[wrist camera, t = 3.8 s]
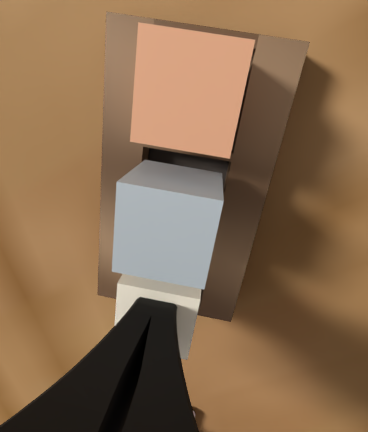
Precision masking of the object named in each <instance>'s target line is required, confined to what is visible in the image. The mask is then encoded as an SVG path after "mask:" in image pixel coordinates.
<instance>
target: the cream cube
mask: <svg viewBox="0 0 368 432" xmlns="http://www.w3.org/2000/svg"><path fill="white" fill-rule="evenodd" d="M139 297H144V298H149V299H154V300H159V301H164V302H169V303H174V304H175V305H176V306H177V336H178V344H179V350H180V357H181V359H186V360H187V359H188V355H189V350H190V345H191V341H192V336H193V332H194V327H195V322H196V318H197V313H198V308H199V304H200V298H201V289H198V288H193V287H188V286H183V285H178V284H173V283H168V282H162V281H157V280H152V279H147V278H142V277H137V276H132V275H127V274H122V276H121V278H120V279H119V281H118V283H117V296H116V312H115V325H116V324H117V323H118V322H119V321H120V319H121V318H122V317H123V316H124V315H125V313H126V312H127V311H128V310H129V309H130V307H131V306H132V305H133V303H134V302H135V301H136V299H137V298H139Z"/></svg>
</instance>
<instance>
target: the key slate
mask: <svg viewBox="0 0 368 432" xmlns="http://www.w3.org/2000/svg"><path fill="white" fill-rule="evenodd" d="M223 202H224V196H223V179H222V173H219V172H213V171H207V170H201V169H196V168H190V167H184V166H178V165H173V164H167V163H161V162H155V161H150V160H144V161H143V162H141V163H140V164H139V165H137V166H136V167H135V168H134V169H132V170H131V171H130V172H128V173H127V174H126V175H125V176H123V177H122V178H121V179H119V180H118V181H117V183H116V202H115V220H114V239H113V257H112V272H116V273H121V274H127V275H132V276H137V277H142V278H147V279H152V280H157V281H162V282H168V283H173V284H178V285H183V286H188V287H193V288H198V289H203V290H204V289H205V284H206V280H207V275H208V271H209V266H210V262H211V257H212V252H213V248H214V243H215V239H216V234H217V230H218V225H219V220H220V216H221V211H222V207H223Z"/></svg>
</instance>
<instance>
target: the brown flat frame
mask: <svg viewBox="0 0 368 432" xmlns="http://www.w3.org/2000/svg"><path fill="white" fill-rule="evenodd" d="M138 22H140V23H146V24H153V25H160V26H166V27H173V28H180V29H186V30H193V31H200V32H206V33H213V34H220V35H226V36H233V37H240V38H246V39H253V40H255V44H254V48H253V53H252V58H251V62H250V67H249V72H248V76H247V81H246V86H245V90H244V95H243V100H242V104H241V109H240V114H239V118H238V123H237V128H236V132H235V137H234V142H233V146H232V151H231V156H230V159H228V158H223V157H217V156H211V155H205V154H199V153H193V152H188V151H182V150H176V149H170V148H164V147H158V146H153V145H147V144H141V143H135V142H130V134H131V119H132V105H133V90H134V76H135V62H136V47H137V33H138ZM309 43H310V42H307V41H300V40H293V39H287V38H280V37H273V36H267V35H260V34H253V33H246V32H240V31H233V30H226V29H220V28H213V27H206V26H199V25H193V24H186V23H179V22H173V21H166V20H159V19H153V18H146V17H139V16H132V15H126V14H119V13H112V12H106V40H105V72H104V104H103V137H102V169H101V201H100V234H99V266H98V295H100V296H105V297H110V298H115V299H116V296H117V283H118V281H119V279H120V278H121V276H122V274H121V273H116V272H112V257H113V239H114V220H115V202H116V183H117V181H118V180H119V179H121V178H122V177H123V176H125V175H126V174H127V173H128V172H130V171H131V170H132V169H134V168H135V167H136V166H137V165H139V164H140V163H141V162H143V161H144V160H150V161H155V162H161V163H167V164H173V165H178V166H184V167H190V168H196V169H201V170H207V171H213V172H219V173H222V179H223V196H224V202H223V207H222V211H221V216H220V220H219V225H218V230H217V234H216V239H215V243H214V248H213V252H212V257H211V262H210V266H209V271H208V275H207V280H206V284H205V289H204V290H203V289H201V298H200V304H199V308H198V313H197V315H200V316H205V317H210V318H215V319H220V320H225V321H230V322H231V320H232V316H233V313H234V309H235V305H236V302H237V298H238V295H239V291H240V288H241V284H242V281H243V277H244V274H245V270H246V266H247V263H248V259H249V256H250V252H251V249H252V245H253V242H254V238H255V235H256V231H257V227H258V224H259V220H260V217H261V213H262V210H263V206H264V203H265V199H266V196H267V192H268V188H269V185H270V181H271V178H272V174H273V171H274V167H275V164H276V160H277V157H278V153H279V149H280V146H281V142H282V139H283V135H284V132H285V128H286V125H287V121H288V118H289V114H290V110H291V107H292V103H293V100H294V96H295V93H296V89H297V86H298V82H299V79H300V75H301V71H302V68H303V64H304V61H305V57H306V54H307V50H308V47H309Z"/></svg>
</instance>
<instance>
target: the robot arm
mask: <svg viewBox="0 0 368 432" xmlns="http://www.w3.org/2000/svg"><path fill="white" fill-rule="evenodd" d="M0 432H199V430H198V427H197V424H196V420H195V412H194V411H193V410H192V406H191V403H190V399H189V395H188V391H187V386H186V382H185V378H184V373H183V368H182V363H181V357H180V350H179V344H178V336H177V306H176V305H175V304H174V303H169V302H164V301H159V300H154V299H149V298H144V297H139V298H137V299H136V301H135V302H134V303H133V305H132V306H131V307H130V309H129V310H128V311H127V312H126V313H125V315H124V316H123V317H122V318H121V319H120V321H119V322H118V323H117V324H116V325H115V326H114V327H113V328H112V329H111V330H110V332H109V333H108V334H107V335H106V336H105V337H104V338H103V339H102V340H101V341H100V342H99V343H98V344H97V345H96V346H95V347H94V348H93V349H92V350H91V351H90V352H89V353H88V354H87V355H86V356H85V357H84V358H83V359H82V360H81V361H80V362H78V363H77V364H76V365H75V366H74V367H73V368H72V369H71V370H70V371H69V372H67V373H66V374H65V375H64V376H63V377H62V378H60V379H59V380H58V381H57V382H56V383H55V384H53V385H52V386H51V387H50V388H49V389H47V390H46V391H45V392H44V393H42V394H41V395H40V396H39V397H37V398H36V399H35V400H33V401H32V402H31V403H30V404H28V405H27V406H26V407H24V408H23V409H22V410H20V411H19V412H18V413H17V414H15V415H14V416H12V417H11V418H10V419H8V420H7V421H6V422H4V423H3V424H2V425H0Z"/></svg>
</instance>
